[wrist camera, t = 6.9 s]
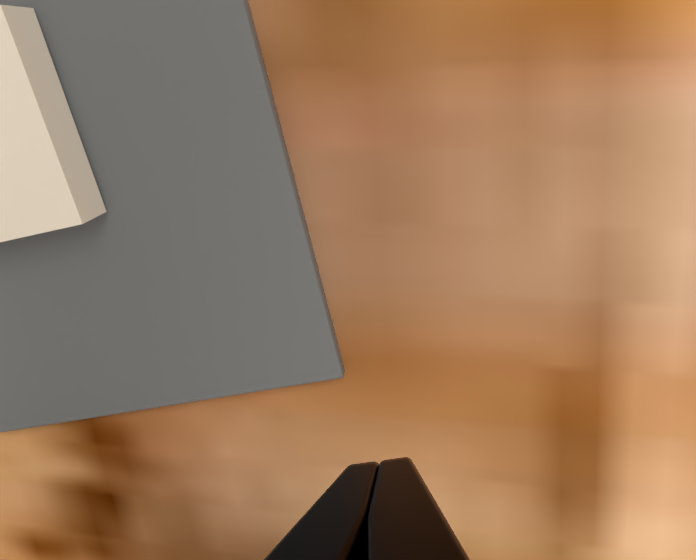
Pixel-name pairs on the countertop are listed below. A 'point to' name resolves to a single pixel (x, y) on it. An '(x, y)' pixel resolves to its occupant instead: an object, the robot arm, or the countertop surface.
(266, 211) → the mat
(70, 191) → the tile
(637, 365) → the countertop surface
